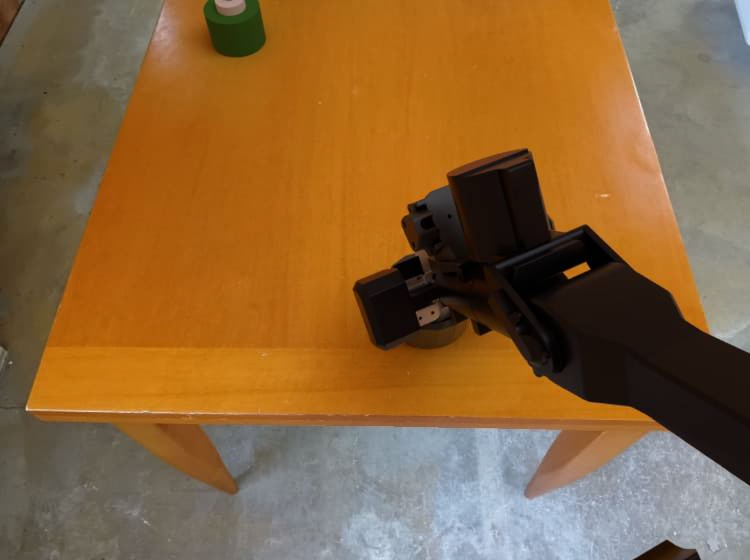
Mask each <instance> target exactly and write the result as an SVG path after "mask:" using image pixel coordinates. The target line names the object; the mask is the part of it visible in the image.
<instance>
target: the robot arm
mask: <svg viewBox="0 0 750 560" xmlns="http://www.w3.org/2000/svg"><path fill="white" fill-rule="evenodd" d="M445 176H446V179H447V183H448V184H446V185H444V186H441V187H439V188H437V189H433V190H431V191H430V192H428V193H427V195H425V197H424V198H421V199H419V200H416V201H414V202H412V203H411V202H410V203H408V204H407V206H406V208H407V212H408V213H407V214H406V215H404V216H403V217H402V218H401V219H400V224H401V225H400V226H401V228H402V231H403V233H404V236H405V238H406V240H407V242H408V245H409V247H410V249H411V250H412V251H413V252H414V253H415V252H418V251H420V250H425V251H426V253H427V255H428V256H429V258H427V259H428V262H429V265H430V268H431V271H429V272H426V273H424V271H423V268H422V264H421V261H420V258H419V256H416V257H413V258H411V259H408V260H406V261H403V262H401V263H398V264H396V265H394V266H393V267H392V266H391V267H392V268H391V267H390V268H391V269H390V268H385V269H382V270H379V271H377V272H375V273H372V274H370V275H367V276H365V277H363V278H362V277H361V278H360V279H357V280H355V282H354V285H353V287H352V290H351V291H352V292H353V295H354V298H355V301H356V304H357V307H358V309H359V312H360V315H361V319H362V322H363V323H364V326H365V329H366V332H367V336H368V337H369V341H370V343H371V344H372V345H373V346H374V347H375V348H376V349H379V350H381V351H383V352H387V351H389V350H392V349H394V348H396V347H399V346H401V345H404V344H406V342H408V341H410V340H413V339H415V338H417V337H419V336H420V335H421V327H420V326H423V325H425V324H427V323H430V322H432V321H434V320H436V319H437V318H438V317H439V315H440V311H441V309H443V308H446V307H448V308H449V311H450V315H451V318H452V321H454V322H456V323H457V324H458V323H460V322H462V321H464V320H467V319H469V318H470V323H471V326H472V329H473V333H474V334H476V335H478V336H480V337H481V336H483V335H486V334H488V333H490V332H492V331H494V332H496V333H498V334H500V335H502V336H504V337H506V338H508V339H509V340H512V342H513V344H514V345H515V347H516V349H517V350H518V352H519V353H520V355H521V356H522V358H523V359H524V361H526V363H527V365H528V366H529V367H530V368H531V370H532V373H533V375H534V376H535V377H536V378H539V379H540V378H543V377H546V378H547V379H548V380H549V381H550V382H551V383H552V384H555V385H556V386H558V387H559V388H562V389H564V390H565V391H567V392H569V393H571V394H572V395H574V396H576V397H578V398H580V399H581V400H583V401H584V402H585V401H586V402H588V403H592V404H599V405H600V404H601V405H610V406H619V407H625V408H627V407H628V408H632V409H634V410H636V411H637V412H640V413H642V414H643V415H646V416H647V417H649V418H650V419H651V420H653V421H654V422H656V423H657V424H659V425H660V426H661V427H663V428H664V429H666V430H667V431H669V432H670V433H672V434H673V435H675V436H676V437H677V438H679V439H680V440H682V441H684V442H685V443H687V444H688V445H689V446H691V447H692V448H693V449H695V450H697V452H699V453H701V454H703V455H704V456H705V457H706V458H708V459H710V460H711V461H713V462H714V463H715V464H717V465H718V466H719V467H721V468H723V469H724V470H726V471H727V472H729V474H731V475H733V476H734V477H736V478H737V479H739V480H740V481H741V482H743V483H745V484H746V485H747V486H749V487H750V352H748V351H747V350H744V349H742V348H739V346H738V347H737V346H736V345H733V344H731V343H728V342H727V341H725V340H722V339H720V338H719V337H716V336H715V335H712V334H710V333H707V332H705V331H703V330H702V329H700V328H699V327H697V326H695V325H694V324H692V323H691V322H690V321H688V320H686V318H685V317H684V314H683V313H682V310H681V308H680V306H679V305H678V302H677V301H676V298H675V297H674V294H672V292H671V291H669V289H666V288H664V287H663V286H662V285H660V284H659V283H656V282H655V281H653V280H652V279H650V278H648V277H647V276H645V275H644V274H641V273H640V272H639V271H637V270H635V269H634V268H633V267H632V266H631V265H630V264H629V263H628V262H627V261H626V260H625V259H624V258H623V257H622V256H620V254H618V253H617V252H616V251H615V250H614V249H613V248H612V247H611V246H610V245H609V244H608V243H607V242H606V241H605V240H604V239H603V238H602V237H601V236H600V235H599V234H598V233H597V232H595V230H594V229H593V228H591V227H590V226H589V225H588V224H586V223H584V224H582V225H580V226H577V227H575V228H572V229H569V230H568V231H560V230H559V231H558V230H556V225H555V221H554V220H553V218H552V217H551V215H549V214H548V212H547V208H546V204H545V199H544V196H543V192H542V187H541V184H540V179H539V175H538V172H537V167H536V164H535V160H534V156H533V152H532V151H531V150H529V148H528V147H526V148H525V147H524V148H517V149H513V150H508V151H507V150H506V151H503V152H499V153H496V154H492V155H488V156H486V157H482V158H479V159H476V160H474V161H470V162H468V163H465V164H463V165H460V166H457V167H456V168H453V169H452V170H449V172H447V173H446V174H445ZM585 263H586V265H587V266H588V268H589V269H588V270H585V271H583V272H581V273H579V274H577V275H574V276H572V277H571V278H569V277H568V276H567V275H566V273H565V272H567V271H570V270H572V269H574V268H576V267H579V266H581V265H583V264H585ZM432 280H433V281H434V282H433V283H432ZM437 299H439V301H438V300H437ZM434 300H435V302H433V301H434ZM632 560H702V559H701V557H700V554H699V552H698V550H697V549H696V548H685V547H682V546H679V545H676V544H675V543H674V542H672V541H671V540H669V539H664V540H663V541H661V542H659V543H658V544H656V545H654V546H653V547H651V548H649V549H648V550H646V551H645V552H643V553H641V554H639V555H638V556H636V557H634V558H633V559H632Z"/></svg>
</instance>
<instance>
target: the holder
mask: <svg viewBox="0 0 750 560" xmlns="http://www.w3.org/2000/svg"><path fill="white" fill-rule="evenodd" d="M414 253H415V252H414ZM414 253H413V252H412V253H410V254H406V255H404V256H403V257H401V258H400V259H399V260H397V261H396V262H394V264H392V265H391V267H390V268H389V269H391V268H392V267H393V266H394V265H396V264H398V263H401V262H403V261H406V260H408V259H411V258H413V257H416V256H415V254H414ZM470 322H471V320H470V318H469V319H467V320H464V321H462V322H460V323H458V324H457V323H456V322H454V321H452V318H451V316H450V317H449V318H447V319H445V320H444V321H442V322H439V323H427V324H425V325H423V326H420V327H421V335H420V336H419V337H417V338H415V339H413V340H410V341H408V342H406V343H405V345H408V346H411V347H413V348H416V349H422V350H435V349H441V348H444V347H447V346H450V345H452V344H453V343H455V342H456V341H457V340H458V339H460V338H461V337H462V336H463V334H464V333H465V331H466V330H467V328H468V326H469V323H470Z"/></svg>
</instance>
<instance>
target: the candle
mask: <svg viewBox="0 0 750 560" xmlns="http://www.w3.org/2000/svg"><path fill="white" fill-rule="evenodd" d="M261 9H262V8H261V4H260V1H259V0H207V1H206V2H205V4H204V5H203V9H202V11H203V16H204V19H205V24H206V27H207V30H208V33H209V37H210V41H211V44H212V47H213V49H214V50H215V51H216V52H217V53H218V54H220V55H222V56H225V57H229V58H243V57H248V56H250V55H254V54H255V53H257V52H258V51H260V50H261V49H262V48H263V47H264V45H265V44H266V40H267V36H266V30H265V25H264V20H263V16H262V10H261Z"/></svg>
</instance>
